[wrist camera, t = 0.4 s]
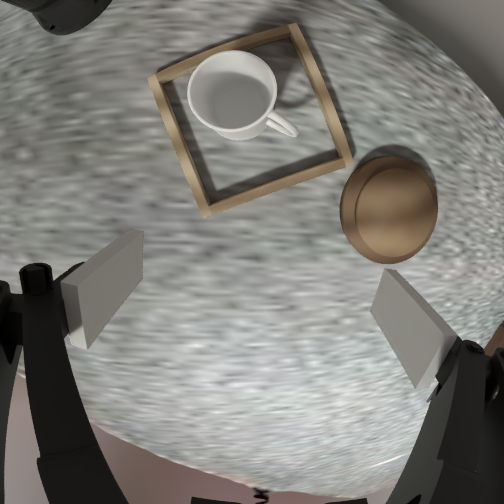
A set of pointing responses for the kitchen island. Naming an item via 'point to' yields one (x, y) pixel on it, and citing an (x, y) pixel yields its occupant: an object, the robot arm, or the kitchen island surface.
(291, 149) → the kitchen island surface
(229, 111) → the mug
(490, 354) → the tissue box cover
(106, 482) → the robot arm
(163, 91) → the square wooden frame
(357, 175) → the brown wooden saucer
